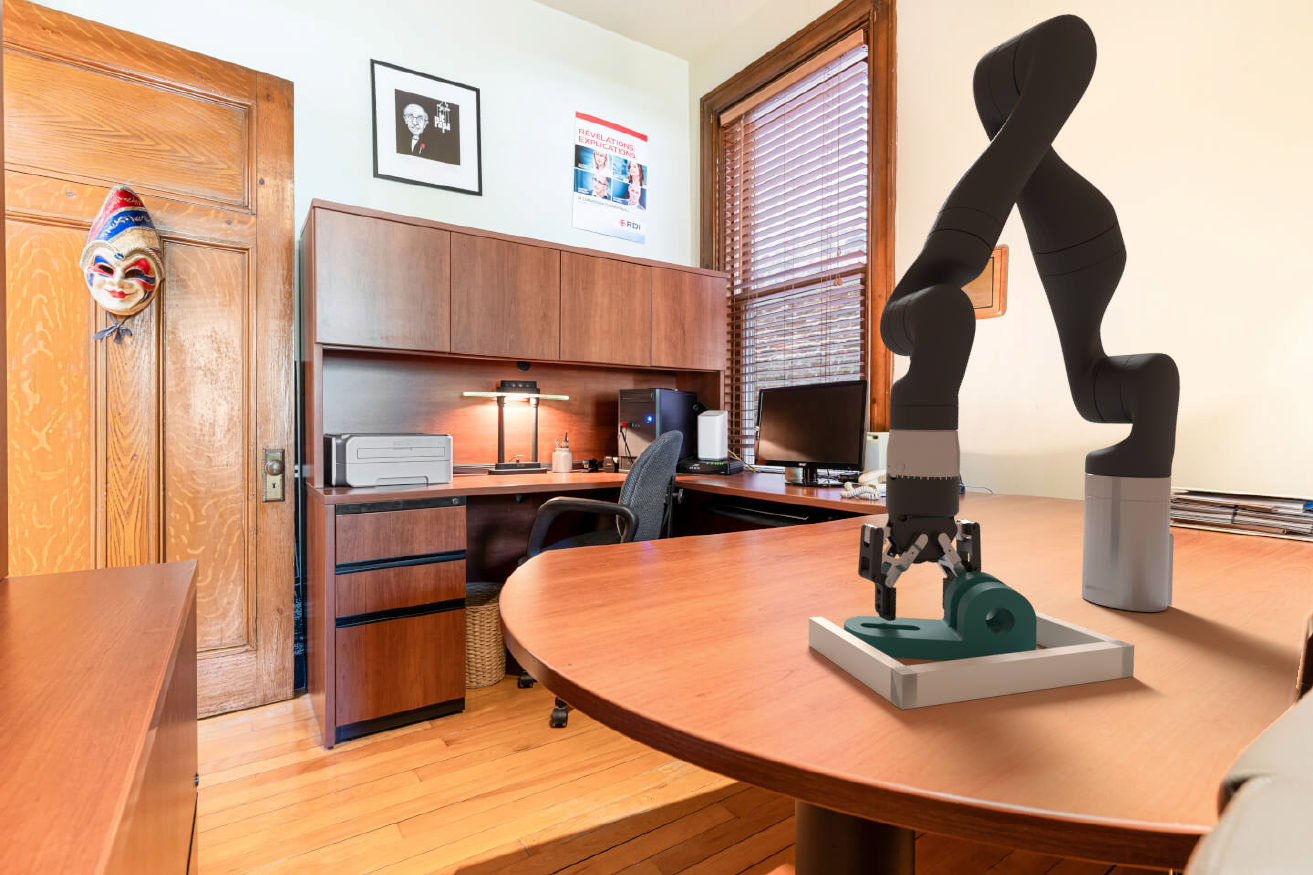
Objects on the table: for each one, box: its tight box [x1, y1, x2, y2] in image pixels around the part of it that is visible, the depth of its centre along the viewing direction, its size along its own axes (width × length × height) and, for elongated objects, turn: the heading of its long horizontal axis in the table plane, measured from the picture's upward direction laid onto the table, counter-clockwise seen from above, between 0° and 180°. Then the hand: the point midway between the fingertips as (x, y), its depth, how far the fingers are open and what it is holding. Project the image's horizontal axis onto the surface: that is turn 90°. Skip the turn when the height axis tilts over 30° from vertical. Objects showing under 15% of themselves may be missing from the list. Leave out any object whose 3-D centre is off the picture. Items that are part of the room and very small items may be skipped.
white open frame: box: [808, 610, 1135, 710], centre depth 63 cm, size 26×16×3 cm, turn 106°
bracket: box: [843, 571, 1037, 662], centre depth 66 cm, size 18×7×8 cm, turn 81°
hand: (919, 615), depth 69 cm, fingers open, 8 cm apart
